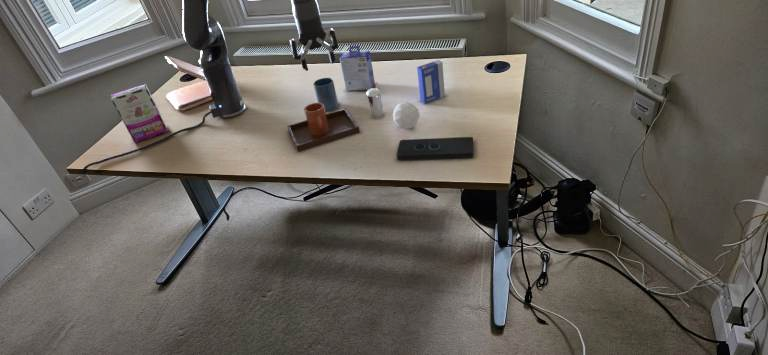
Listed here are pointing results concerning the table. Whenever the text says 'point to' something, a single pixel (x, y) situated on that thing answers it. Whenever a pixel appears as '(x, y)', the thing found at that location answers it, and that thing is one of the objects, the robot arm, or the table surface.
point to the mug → (316, 119)
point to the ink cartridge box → (357, 70)
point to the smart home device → (435, 148)
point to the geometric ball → (406, 115)
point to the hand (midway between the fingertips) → (319, 66)
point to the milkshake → (375, 101)
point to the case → (189, 87)
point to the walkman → (431, 81)
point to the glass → (326, 93)
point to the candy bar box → (139, 113)
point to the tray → (338, 129)
